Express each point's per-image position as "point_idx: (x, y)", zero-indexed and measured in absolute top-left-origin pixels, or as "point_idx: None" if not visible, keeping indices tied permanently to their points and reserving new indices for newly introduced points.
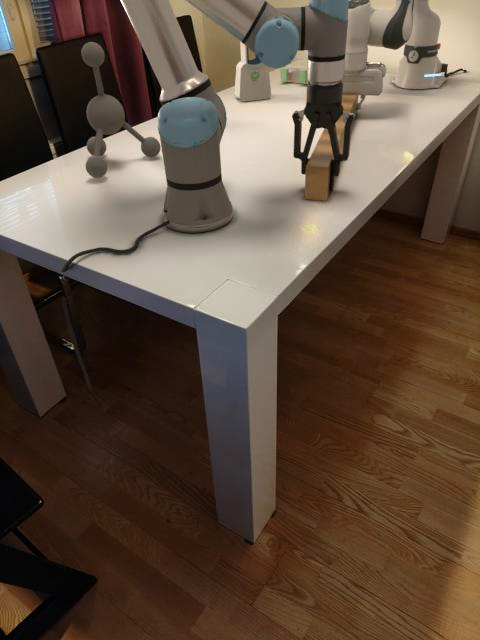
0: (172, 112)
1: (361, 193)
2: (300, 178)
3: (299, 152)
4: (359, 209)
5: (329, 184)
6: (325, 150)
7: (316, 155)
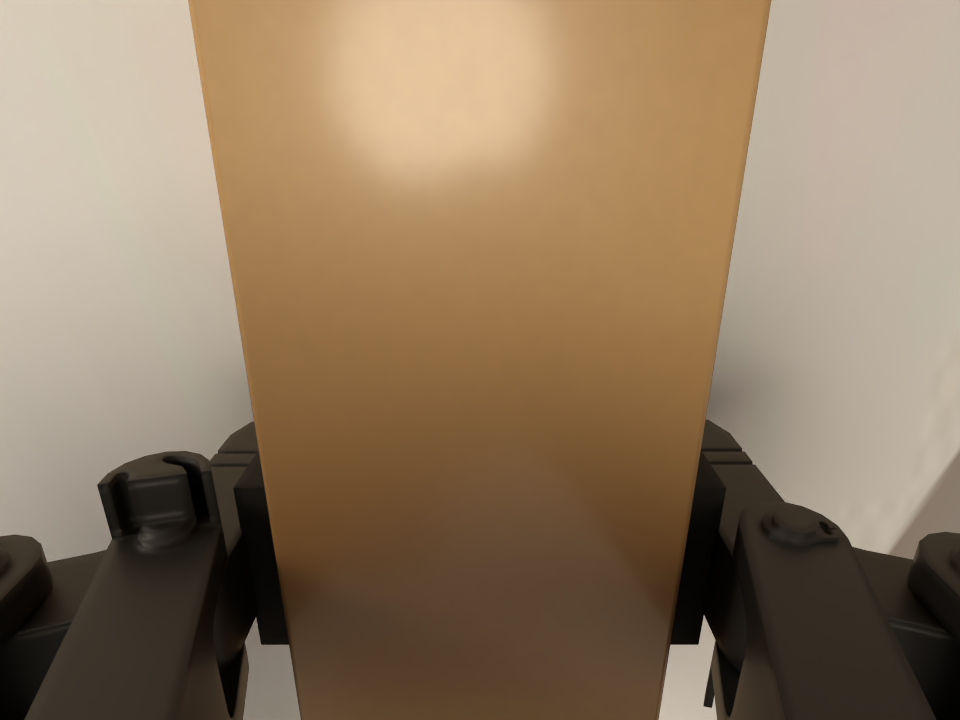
0: None
1: (876, 380)
2: None
3: (34, 693)
4: None
5: None
6: (514, 251)
7: (379, 561)
